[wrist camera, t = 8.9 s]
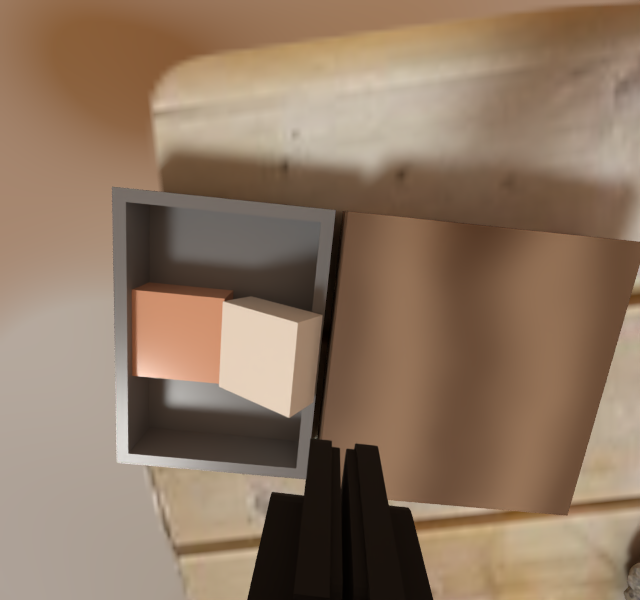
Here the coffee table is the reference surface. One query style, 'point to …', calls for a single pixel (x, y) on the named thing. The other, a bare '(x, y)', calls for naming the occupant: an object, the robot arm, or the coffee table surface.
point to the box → (245, 280)
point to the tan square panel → (472, 356)
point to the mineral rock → (633, 583)
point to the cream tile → (269, 353)
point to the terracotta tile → (177, 331)
